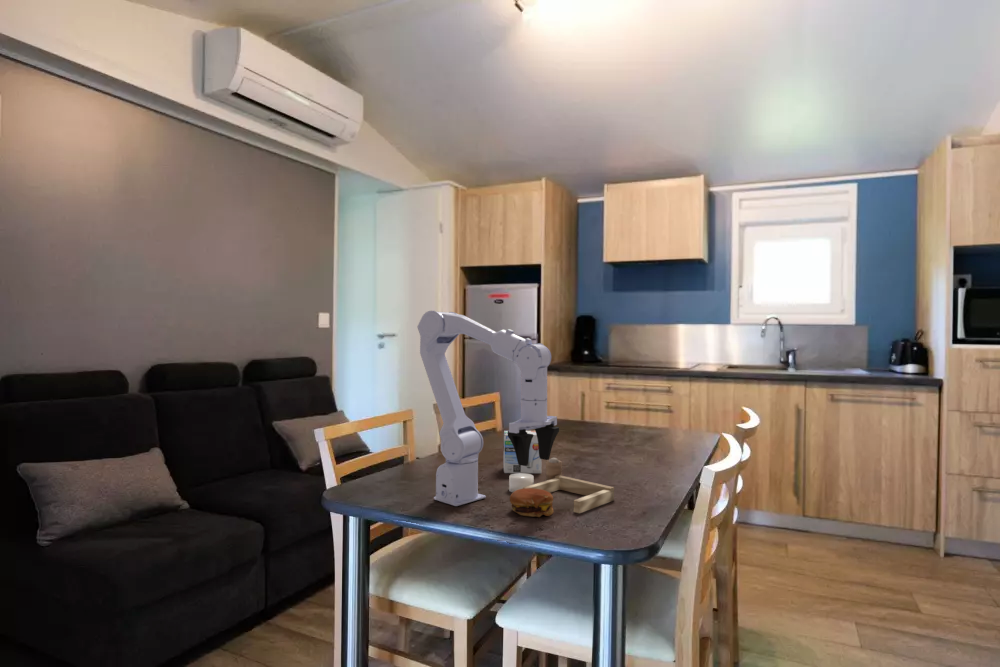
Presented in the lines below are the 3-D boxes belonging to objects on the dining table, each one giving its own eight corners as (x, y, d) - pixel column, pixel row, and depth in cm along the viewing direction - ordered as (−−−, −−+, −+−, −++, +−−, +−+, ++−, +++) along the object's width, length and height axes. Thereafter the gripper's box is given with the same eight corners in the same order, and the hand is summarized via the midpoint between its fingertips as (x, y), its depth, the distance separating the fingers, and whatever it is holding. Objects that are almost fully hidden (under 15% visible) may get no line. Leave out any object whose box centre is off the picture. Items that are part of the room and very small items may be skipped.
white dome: (522, 495, 134) (522, 480, 134) (504, 490, 138) (504, 476, 138) (538, 490, 138) (538, 476, 138) (520, 485, 143) (520, 472, 143)
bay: (579, 513, 120) (579, 499, 120) (523, 498, 131) (523, 485, 131) (614, 500, 130) (614, 487, 130) (558, 487, 141) (559, 475, 141)
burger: (519, 503, 128) (520, 482, 128) (559, 508, 124) (559, 487, 124) (503, 516, 119) (503, 494, 119) (545, 522, 115) (545, 499, 115)
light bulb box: (503, 473, 155) (503, 434, 155) (502, 467, 161) (503, 430, 161) (542, 473, 155) (542, 434, 155) (540, 467, 162) (540, 430, 162)
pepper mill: (555, 488, 140) (555, 460, 140) (542, 485, 143) (542, 457, 143) (565, 485, 143) (565, 457, 143) (552, 482, 146) (552, 455, 146)
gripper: (527, 404, 114) (527, 471, 114) (568, 398, 125) (568, 459, 125) (501, 401, 119) (501, 465, 119) (542, 395, 130) (542, 454, 130)
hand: (533, 462), depth 122 cm, fingers open, 7 cm apart
